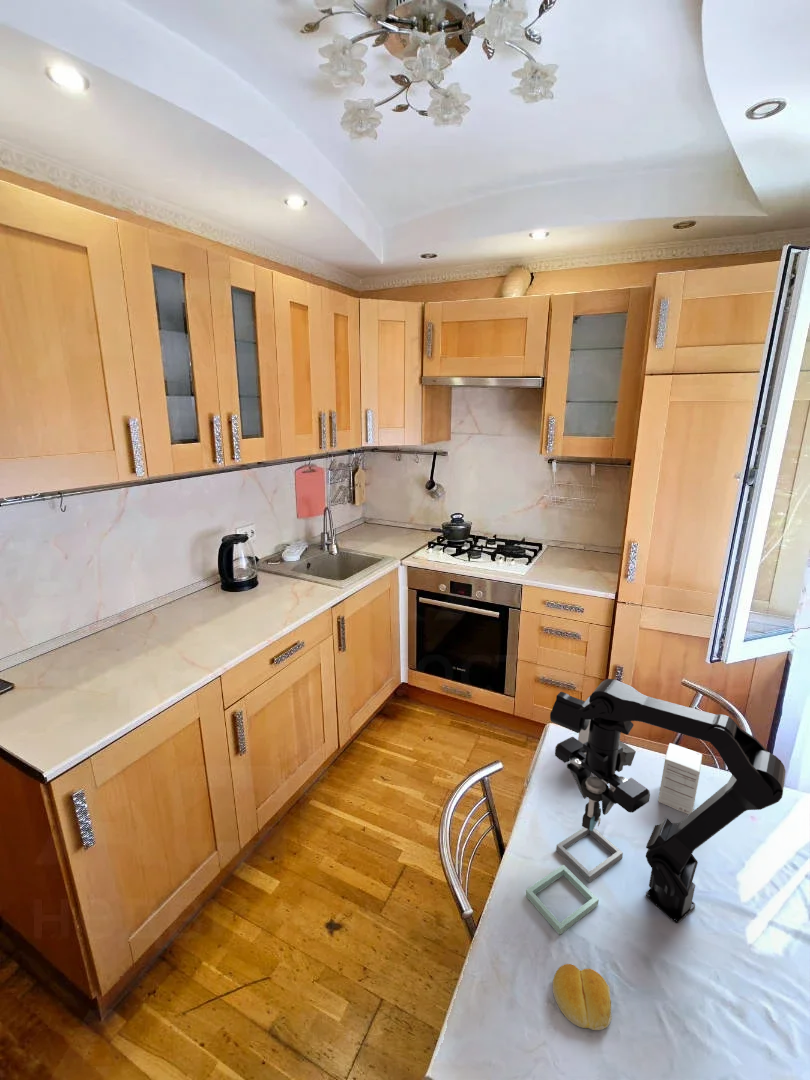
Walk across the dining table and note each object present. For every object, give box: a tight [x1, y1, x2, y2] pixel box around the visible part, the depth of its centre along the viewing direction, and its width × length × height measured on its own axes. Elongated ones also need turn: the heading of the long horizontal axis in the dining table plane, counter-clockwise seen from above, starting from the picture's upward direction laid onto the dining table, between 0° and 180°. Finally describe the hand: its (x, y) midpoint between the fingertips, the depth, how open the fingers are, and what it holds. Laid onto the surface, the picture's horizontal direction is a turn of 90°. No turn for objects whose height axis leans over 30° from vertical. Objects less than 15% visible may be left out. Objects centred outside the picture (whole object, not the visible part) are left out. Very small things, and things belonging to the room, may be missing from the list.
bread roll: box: [552, 963, 613, 1031], centre depth 78 cm, size 8×9×4 cm
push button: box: [581, 775, 610, 831], centre depth 101 cm, size 7×5×10 cm
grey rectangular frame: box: [555, 827, 624, 883], centre depth 104 cm, size 9×11×2 cm
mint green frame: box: [525, 864, 599, 936], centre depth 94 cm, size 9×11×2 cm
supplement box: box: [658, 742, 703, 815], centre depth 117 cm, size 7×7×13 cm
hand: (595, 805), depth 101 cm, fingers closed on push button, 5 cm apart
